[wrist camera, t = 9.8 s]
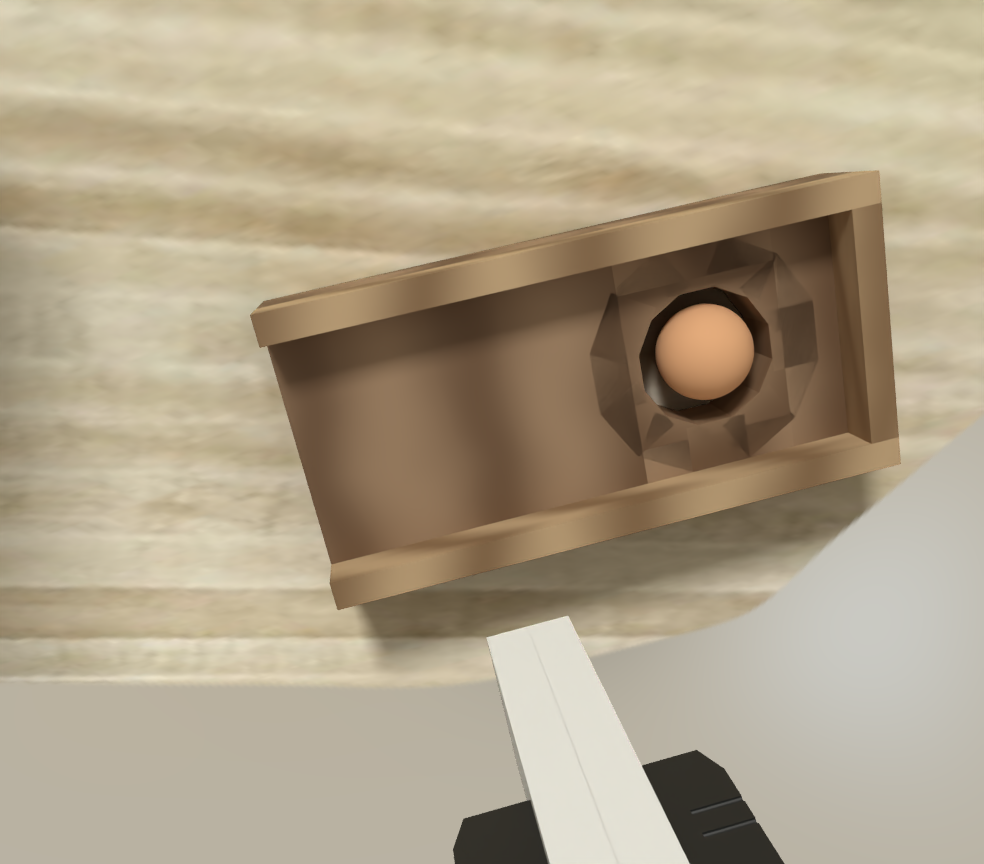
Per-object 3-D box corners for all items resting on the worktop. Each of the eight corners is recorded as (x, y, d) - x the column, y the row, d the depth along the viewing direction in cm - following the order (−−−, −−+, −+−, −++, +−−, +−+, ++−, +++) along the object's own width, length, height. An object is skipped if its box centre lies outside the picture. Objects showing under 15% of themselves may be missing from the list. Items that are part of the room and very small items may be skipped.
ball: (662, 421, 37) (683, 390, 33) (636, 338, 38) (653, 299, 34) (750, 400, 37) (781, 367, 33) (721, 318, 38) (748, 277, 34)
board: (340, 565, 38) (337, 610, 34) (263, 301, 34) (250, 314, 30) (845, 436, 40) (900, 464, 36) (820, 173, 36) (879, 170, 32)
